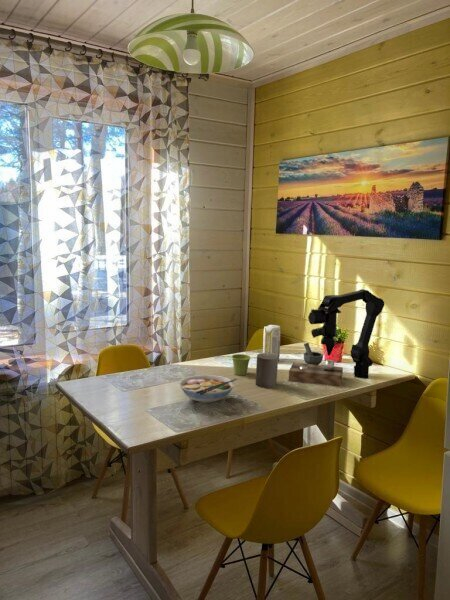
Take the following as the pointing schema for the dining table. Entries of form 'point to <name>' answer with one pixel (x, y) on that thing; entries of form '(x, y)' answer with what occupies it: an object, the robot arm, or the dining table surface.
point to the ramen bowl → (206, 387)
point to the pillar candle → (266, 370)
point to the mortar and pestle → (312, 356)
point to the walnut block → (315, 374)
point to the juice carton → (271, 340)
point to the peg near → (329, 365)
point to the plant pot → (240, 363)
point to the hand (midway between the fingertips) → (328, 355)
